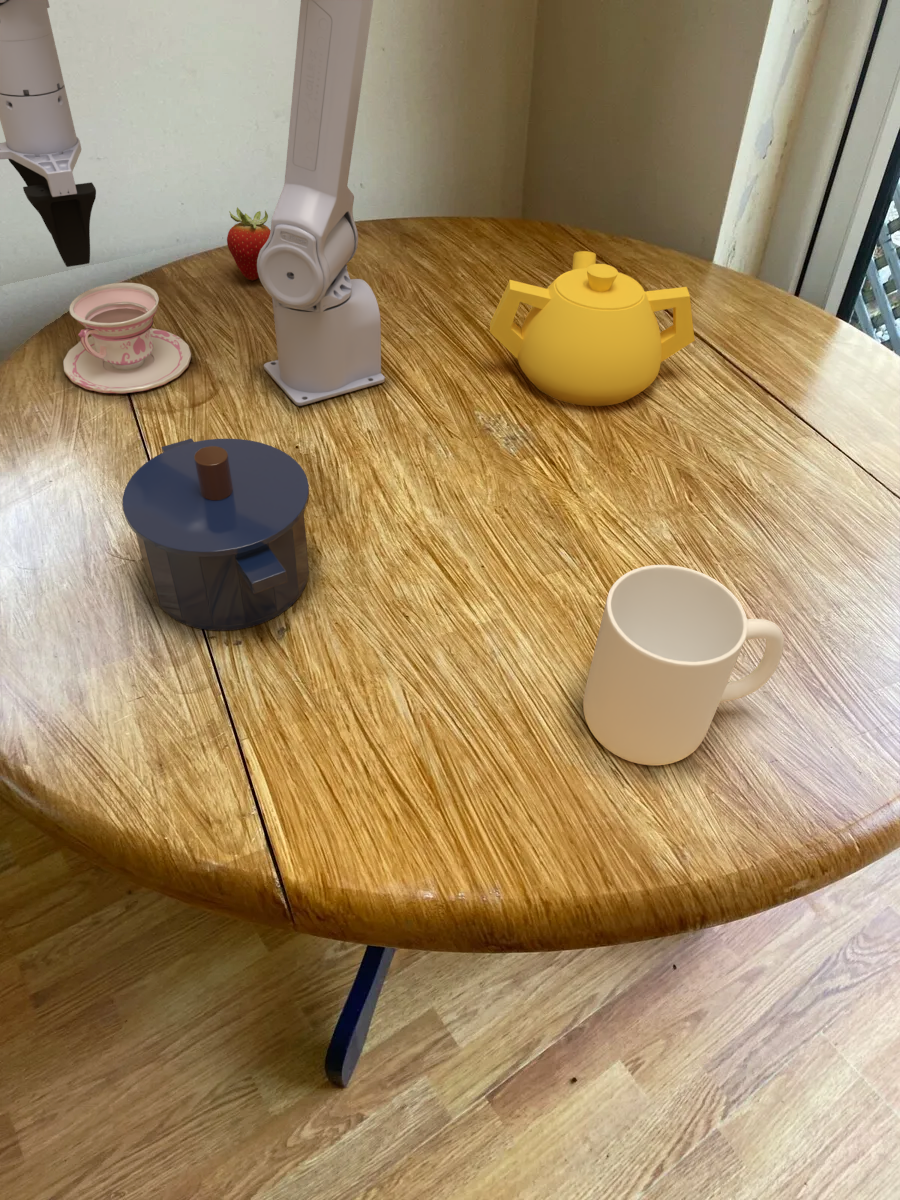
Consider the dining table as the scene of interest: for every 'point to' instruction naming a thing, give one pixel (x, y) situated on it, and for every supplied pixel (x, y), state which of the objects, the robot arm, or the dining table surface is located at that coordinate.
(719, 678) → the cup
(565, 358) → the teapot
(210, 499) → the pot lid
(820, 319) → the dining table surface
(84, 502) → the dining table surface
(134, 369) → the teacup
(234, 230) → the fruit
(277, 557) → the pot
